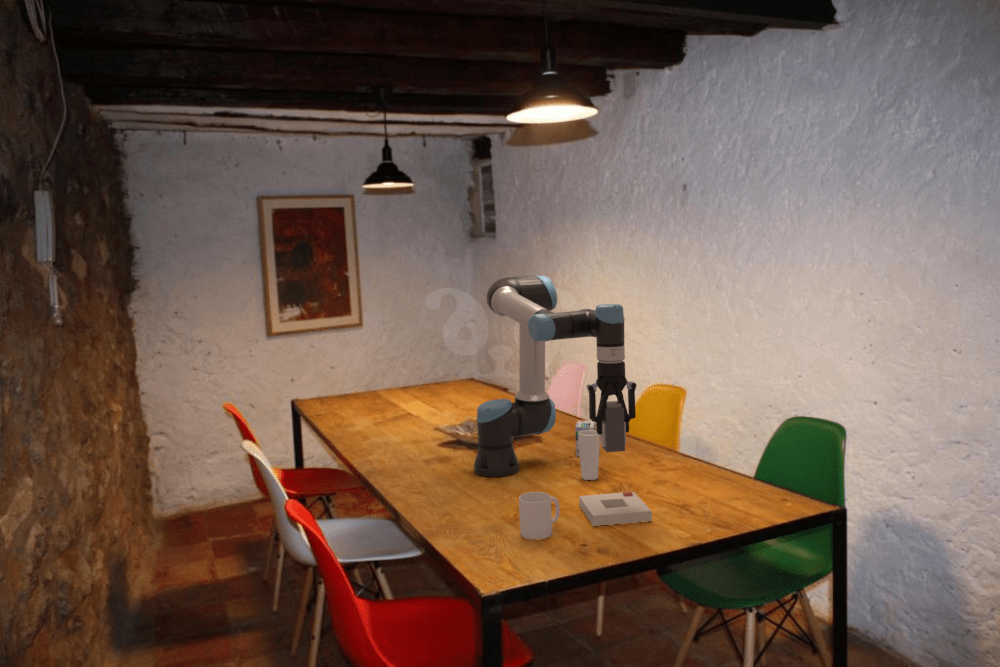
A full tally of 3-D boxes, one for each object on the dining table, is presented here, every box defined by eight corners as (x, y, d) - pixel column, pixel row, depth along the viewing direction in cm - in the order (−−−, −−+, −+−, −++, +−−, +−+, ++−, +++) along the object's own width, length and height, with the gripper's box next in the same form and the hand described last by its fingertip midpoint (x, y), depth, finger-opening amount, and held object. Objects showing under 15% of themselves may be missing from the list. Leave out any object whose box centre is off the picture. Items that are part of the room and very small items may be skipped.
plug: (607, 452, 202) (605, 405, 201) (602, 447, 207) (600, 401, 206) (624, 450, 203) (623, 404, 202) (619, 446, 208) (618, 400, 207)
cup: (514, 533, 195) (512, 496, 194) (550, 522, 201) (549, 486, 200) (532, 543, 188) (531, 504, 187) (569, 531, 195) (568, 494, 193)
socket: (593, 526, 197) (593, 513, 197) (579, 506, 213) (579, 493, 213) (651, 521, 199) (651, 508, 199) (633, 501, 215) (633, 489, 215)
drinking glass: (602, 475, 240) (601, 430, 238) (598, 482, 234) (597, 435, 232) (581, 474, 242) (580, 429, 240) (577, 481, 236) (575, 434, 234)
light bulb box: (594, 457, 261) (594, 427, 260) (575, 457, 263) (574, 427, 261) (597, 449, 272) (596, 419, 270) (578, 448, 273) (577, 419, 272)
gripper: (581, 365, 198) (584, 450, 200) (647, 361, 200) (649, 445, 203) (575, 361, 205) (577, 444, 208) (638, 357, 207) (640, 439, 210)
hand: (613, 444), depth 205 cm, fingers closed on plug, 5 cm apart
